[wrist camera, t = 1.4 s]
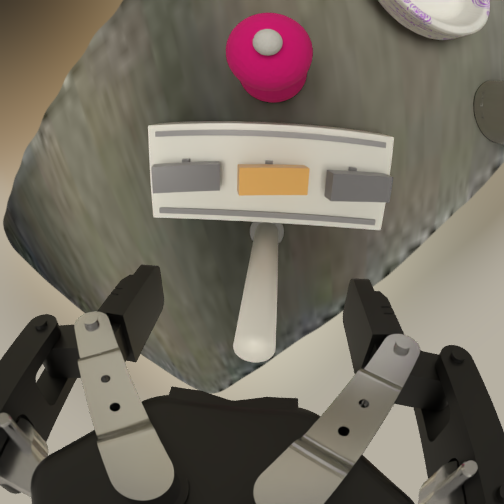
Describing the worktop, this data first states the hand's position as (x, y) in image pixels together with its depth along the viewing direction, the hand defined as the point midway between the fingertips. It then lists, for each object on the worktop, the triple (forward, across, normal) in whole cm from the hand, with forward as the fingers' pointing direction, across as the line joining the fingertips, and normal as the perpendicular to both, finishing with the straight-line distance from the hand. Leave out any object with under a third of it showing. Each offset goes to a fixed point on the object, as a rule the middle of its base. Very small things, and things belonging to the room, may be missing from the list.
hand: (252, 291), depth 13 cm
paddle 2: (+21, -9, 0) cm, 23 cm away
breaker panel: (+28, 0, 0) cm, 28 cm away
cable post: (+28, 0, +9) cm, 29 cm away
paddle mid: (+21, 0, 0) cm, 21 cm away
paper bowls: (+28, -18, -26) cm, 42 cm away
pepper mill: (+28, 0, -11) cm, 30 cm away
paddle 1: (+21, +9, 0) cm, 23 cm away
